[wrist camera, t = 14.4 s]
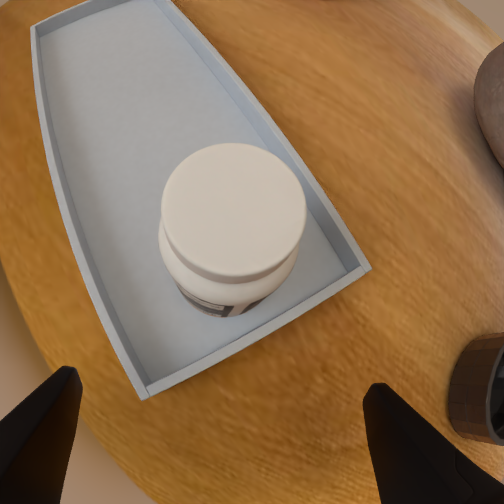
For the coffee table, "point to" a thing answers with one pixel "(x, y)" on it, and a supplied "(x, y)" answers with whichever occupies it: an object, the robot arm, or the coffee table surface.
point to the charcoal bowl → (479, 391)
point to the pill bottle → (231, 227)
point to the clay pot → (491, 101)
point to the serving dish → (161, 180)
